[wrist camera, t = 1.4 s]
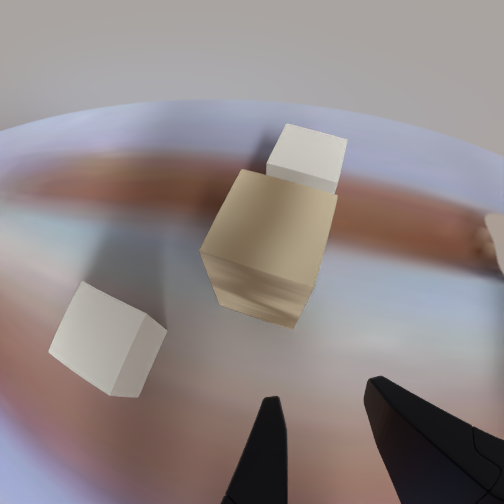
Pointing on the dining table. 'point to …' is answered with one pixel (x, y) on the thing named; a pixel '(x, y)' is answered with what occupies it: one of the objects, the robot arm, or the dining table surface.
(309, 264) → the maple block
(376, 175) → the dining table surface
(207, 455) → the dining table surface
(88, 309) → the white block
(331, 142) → the white block
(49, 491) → the dining table surface
